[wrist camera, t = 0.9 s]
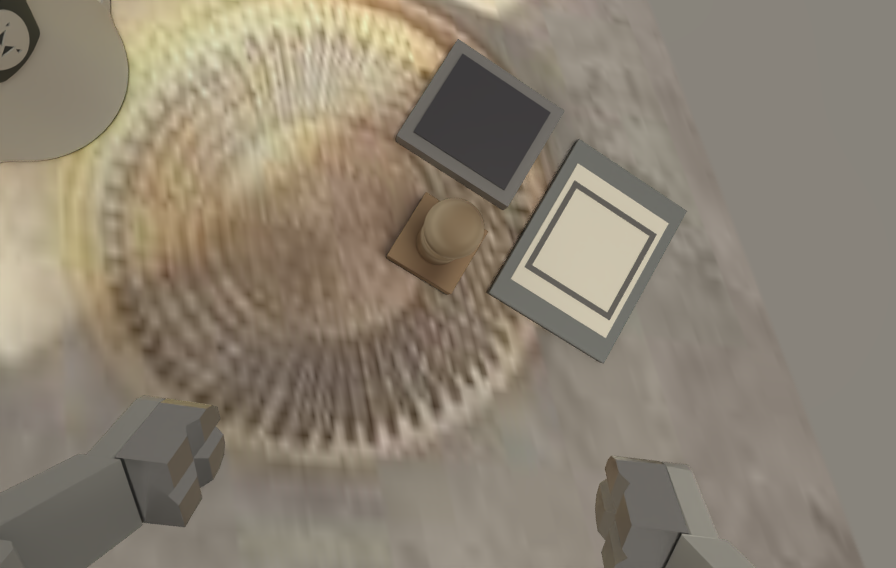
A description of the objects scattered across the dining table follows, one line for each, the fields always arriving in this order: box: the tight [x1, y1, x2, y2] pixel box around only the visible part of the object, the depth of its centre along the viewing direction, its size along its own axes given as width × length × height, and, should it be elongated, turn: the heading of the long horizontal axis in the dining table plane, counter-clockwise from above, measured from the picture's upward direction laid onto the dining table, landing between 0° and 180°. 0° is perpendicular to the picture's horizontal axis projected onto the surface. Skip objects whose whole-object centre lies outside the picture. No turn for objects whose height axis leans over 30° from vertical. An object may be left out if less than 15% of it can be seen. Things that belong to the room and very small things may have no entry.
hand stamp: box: [386, 192, 488, 295], centre depth 38 cm, size 6×6×13 cm
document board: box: [487, 139, 687, 363], centre depth 46 cm, size 12×16×1 cm
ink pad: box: [396, 39, 564, 210], centre depth 45 cm, size 11×10×2 cm
